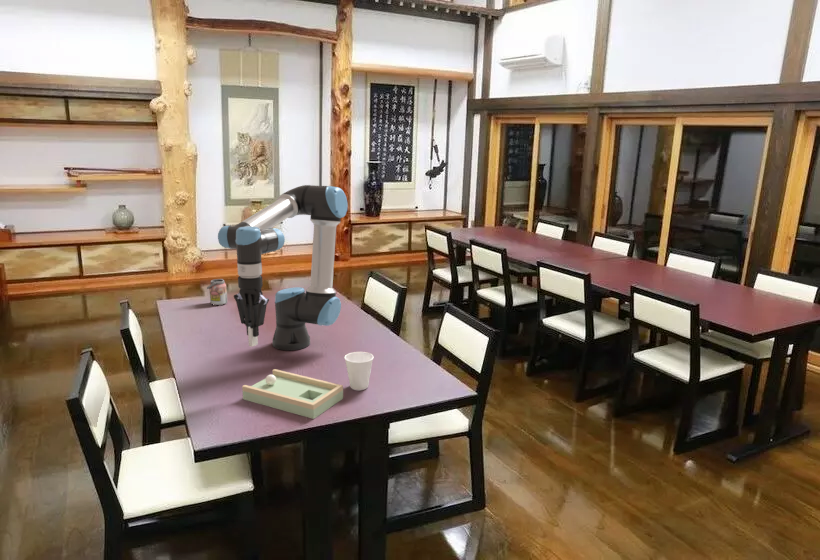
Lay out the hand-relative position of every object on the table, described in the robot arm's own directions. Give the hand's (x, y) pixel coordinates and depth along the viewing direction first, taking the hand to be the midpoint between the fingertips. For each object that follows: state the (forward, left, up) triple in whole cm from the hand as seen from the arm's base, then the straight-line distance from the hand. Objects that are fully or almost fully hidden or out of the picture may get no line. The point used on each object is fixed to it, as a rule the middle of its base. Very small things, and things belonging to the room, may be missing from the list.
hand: (253, 345), depth 191 cm
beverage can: (-85, +68, -16) cm, 110 cm away
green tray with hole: (+15, 0, -16) cm, 22 cm away
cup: (+29, +18, -16) cm, 38 cm away
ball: (+6, 0, -11) cm, 13 cm away
